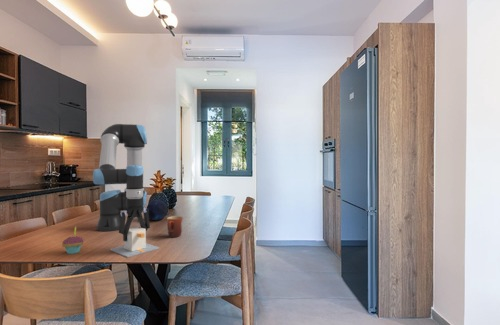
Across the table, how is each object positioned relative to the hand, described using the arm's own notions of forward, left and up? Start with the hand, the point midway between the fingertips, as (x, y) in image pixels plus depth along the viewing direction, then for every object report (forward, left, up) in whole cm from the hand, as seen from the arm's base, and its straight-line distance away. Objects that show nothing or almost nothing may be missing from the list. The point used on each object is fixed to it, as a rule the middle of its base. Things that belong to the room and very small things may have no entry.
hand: (134, 245), depth 135 cm
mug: (-4, +25, -2) cm, 25 cm away
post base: (0, 0, -2) cm, 2 cm away
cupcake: (-18, -20, -2) cm, 27 cm away
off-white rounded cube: (+2, 0, -1) cm, 2 cm away
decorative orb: (-49, +44, -2) cm, 66 cm away
